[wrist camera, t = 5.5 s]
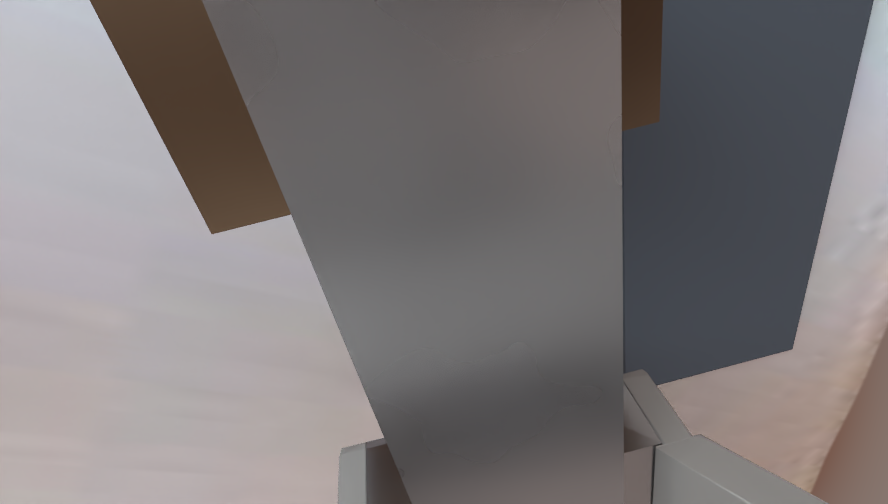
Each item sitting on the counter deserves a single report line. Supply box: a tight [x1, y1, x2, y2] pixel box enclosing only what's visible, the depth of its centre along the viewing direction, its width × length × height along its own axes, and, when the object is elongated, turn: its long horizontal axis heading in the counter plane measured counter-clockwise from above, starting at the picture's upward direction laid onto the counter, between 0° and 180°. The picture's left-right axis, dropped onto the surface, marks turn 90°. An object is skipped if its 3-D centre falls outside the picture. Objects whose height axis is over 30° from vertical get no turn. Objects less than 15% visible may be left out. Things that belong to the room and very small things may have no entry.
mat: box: [622, 0, 874, 385], centre depth 19 cm, size 25×9×1 cm, turn 12°
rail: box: [202, 0, 624, 504], centre depth 9 cm, size 22×3×3 cm, turn 12°
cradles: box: [90, 0, 663, 234], centre depth 15 cm, size 19×7×10 cm, turn 12°
